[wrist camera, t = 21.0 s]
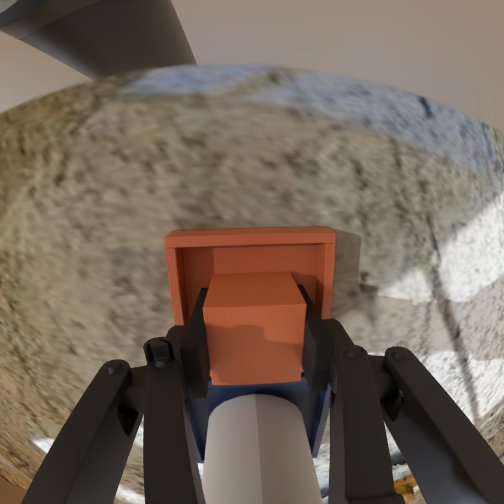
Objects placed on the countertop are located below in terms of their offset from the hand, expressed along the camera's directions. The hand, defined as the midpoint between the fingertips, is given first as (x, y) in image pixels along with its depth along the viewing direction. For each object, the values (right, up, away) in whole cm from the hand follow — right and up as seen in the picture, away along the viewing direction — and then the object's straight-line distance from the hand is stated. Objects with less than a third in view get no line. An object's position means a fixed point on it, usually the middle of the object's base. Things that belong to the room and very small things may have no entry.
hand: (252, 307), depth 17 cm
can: (0, -10, +3) cm, 11 cm away
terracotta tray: (0, 0, +1) cm, 1 cm away
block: (0, 0, 0) cm, 0 cm away
